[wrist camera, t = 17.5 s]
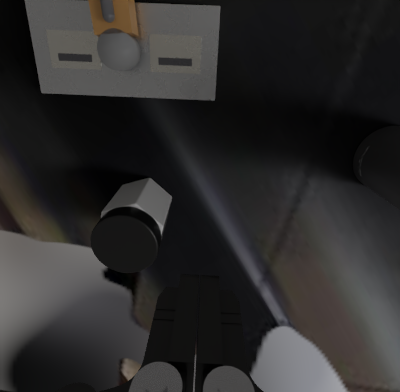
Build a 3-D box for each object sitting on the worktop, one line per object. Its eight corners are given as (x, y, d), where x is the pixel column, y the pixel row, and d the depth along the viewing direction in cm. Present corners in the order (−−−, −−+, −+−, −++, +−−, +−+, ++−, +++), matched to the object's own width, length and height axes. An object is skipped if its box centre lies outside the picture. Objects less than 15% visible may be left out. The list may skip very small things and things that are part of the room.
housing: (219, 10, 33) (220, 5, 30) (214, 98, 37) (214, 100, 35) (36, 3, 33) (22, -3, 31) (51, 91, 37) (40, 93, 35)
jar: (106, 201, 44) (73, 244, 33) (139, 166, 41) (114, 200, 30) (150, 235, 46) (132, 286, 35) (183, 204, 44) (174, 248, 33)
